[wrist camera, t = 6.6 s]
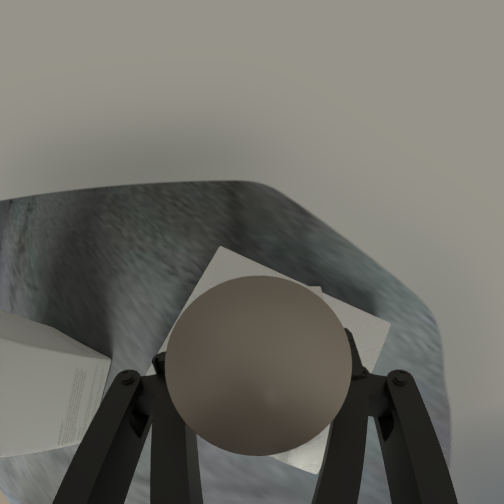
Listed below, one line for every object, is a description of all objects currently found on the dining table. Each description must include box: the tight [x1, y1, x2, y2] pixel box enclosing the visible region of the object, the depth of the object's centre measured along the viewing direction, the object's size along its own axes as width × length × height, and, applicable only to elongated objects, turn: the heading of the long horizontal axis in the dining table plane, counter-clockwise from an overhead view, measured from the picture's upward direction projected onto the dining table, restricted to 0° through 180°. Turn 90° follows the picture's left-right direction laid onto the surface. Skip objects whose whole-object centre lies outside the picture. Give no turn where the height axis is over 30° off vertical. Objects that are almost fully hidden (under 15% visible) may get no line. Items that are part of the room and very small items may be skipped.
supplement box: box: [0, 309, 111, 457], centre depth 15 cm, size 9×9×15 cm
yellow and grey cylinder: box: [165, 276, 352, 456], centre depth 14 cm, size 6×6×13 cm
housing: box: [146, 246, 391, 474], centre depth 20 cm, size 14×12×3 cm
